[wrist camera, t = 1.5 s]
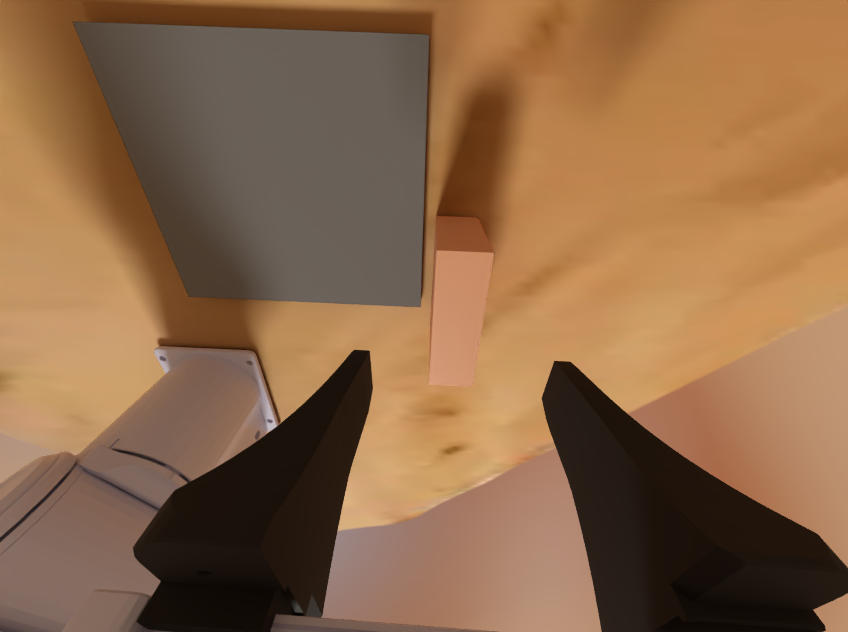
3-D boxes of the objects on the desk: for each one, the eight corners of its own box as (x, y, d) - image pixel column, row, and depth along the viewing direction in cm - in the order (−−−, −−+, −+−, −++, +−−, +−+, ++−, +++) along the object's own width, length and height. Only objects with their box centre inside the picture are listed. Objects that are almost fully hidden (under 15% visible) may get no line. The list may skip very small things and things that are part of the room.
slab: (463, 327, 23) (472, 386, 18) (430, 326, 23) (428, 384, 18) (477, 217, 18) (493, 252, 13) (436, 215, 18) (436, 250, 13)
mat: (420, 302, 22) (420, 307, 21) (194, 292, 22) (188, 296, 21) (429, 37, 14) (429, 34, 14) (85, 25, 14) (72, 21, 14)
